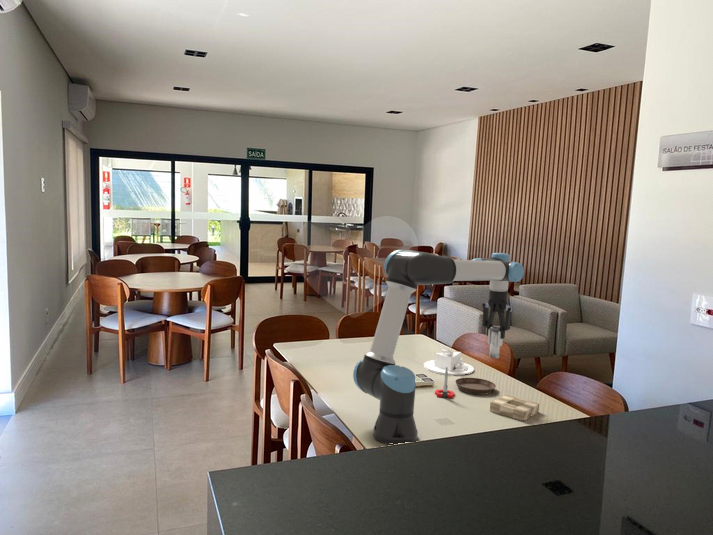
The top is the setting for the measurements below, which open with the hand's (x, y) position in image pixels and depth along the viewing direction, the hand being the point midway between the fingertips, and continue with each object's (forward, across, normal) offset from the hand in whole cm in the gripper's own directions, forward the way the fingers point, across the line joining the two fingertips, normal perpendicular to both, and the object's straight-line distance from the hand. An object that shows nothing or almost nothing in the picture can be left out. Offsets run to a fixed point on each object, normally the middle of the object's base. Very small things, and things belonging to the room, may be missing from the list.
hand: (494, 344), depth 226 cm
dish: (+24, +37, -23) cm, 50 cm away
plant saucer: (+24, +11, -5) cm, 26 cm away
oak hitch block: (+23, -14, +8) cm, 28 cm away
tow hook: (+23, +16, +12) cm, 31 cm away
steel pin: (+5, 0, 0) cm, 5 cm away
